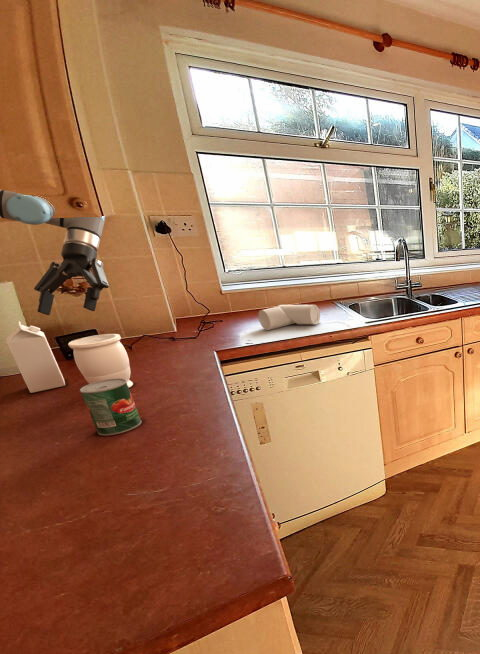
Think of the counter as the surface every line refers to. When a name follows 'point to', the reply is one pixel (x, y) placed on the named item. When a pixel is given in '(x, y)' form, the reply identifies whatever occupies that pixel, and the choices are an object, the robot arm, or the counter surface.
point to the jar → (101, 358)
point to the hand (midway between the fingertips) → (66, 311)
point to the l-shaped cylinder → (288, 316)
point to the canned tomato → (111, 406)
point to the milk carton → (34, 359)
